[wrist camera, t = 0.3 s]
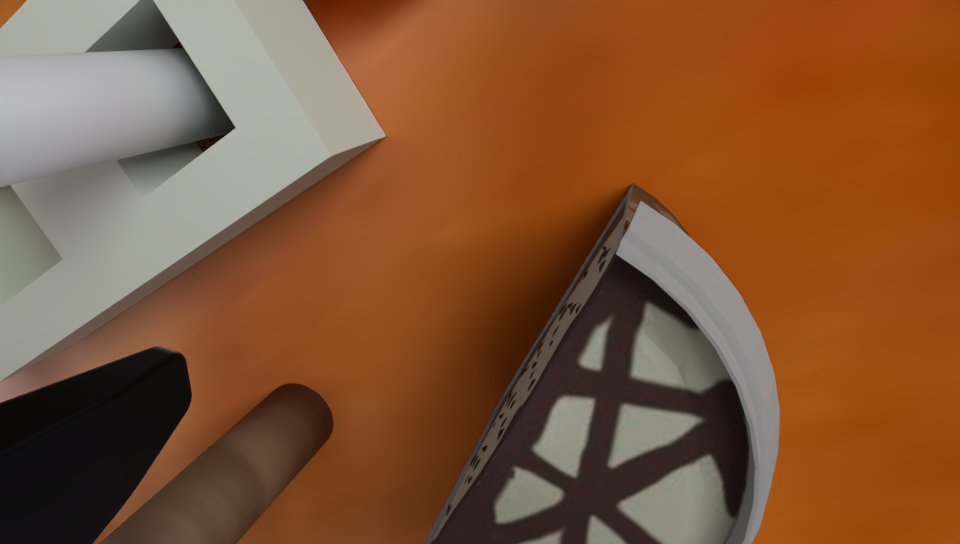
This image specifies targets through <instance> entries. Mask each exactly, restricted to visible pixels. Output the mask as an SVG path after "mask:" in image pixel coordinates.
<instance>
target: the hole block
mask: <svg viewBox="0 0 960 544" xmlns="http://www.w3.org/2000/svg"><path fill="white" fill-rule="evenodd" d="M179 42H181V44H182V45H183V47H184V48H185V50H186V52H187V53H188V55H189V56H190V58H191V59H192V61H193V62H194V64H195V65H196V67H197V69H198V70H199V72H200V73H201V75H202V76H203V78H204V79H205V81H206V82H207V84H208V86H209V87H210V89H211V90H212V92H213V93H214V95H215V96H216V98H217V99H218V101H219V102H220V104H221V106H222V107H223V109H224V110H225V112H226V113H227V115H228V116H229V118H230V119H231V121H232V123H233V124H234V126H235V127H236V128H235V129H234V130H232V131H231V132H230V133H228V134H227V135H226V136H224V137H223V138H222V139H221V140H219V141H218V142H217V143H215V144H214V145H213V146H211V147H210V148H209V149H207V150H206V151H205V152H203V151H202V150H201V148H200V147H199V145H198V144H197V142H196V141H195V142H191V143H186V144H182V145H178V146H174V147H169V148H165V149H161V150H157V151H152V152H148V153H144V154H140V155H135V156H131V157H127V158H123V159H118V160H114V161H110V162H106V163H101V164H97V165H93V166H88V167H84V168H80V169H76V170H71V171H67V172H63V173H59V174H54V175H50V176H46V177H42V178H37V179H33V180H29V181H25V182H20V183H16V184H12V185H8V186H3V187H0V382H1V381H3V380H5V379H7V378H9V377H11V376H13V375H15V374H17V373H18V372H20V371H22V370H24V369H26V368H28V367H30V366H32V365H34V364H36V363H38V362H40V361H42V360H44V359H46V358H48V357H49V356H51V355H53V354H55V353H57V352H59V351H61V350H63V349H65V348H67V347H69V346H71V345H73V344H75V343H77V342H79V341H80V340H82V339H83V338H85V337H86V336H88V335H89V334H91V333H92V332H94V331H95V330H97V329H98V328H100V327H101V326H103V325H104V324H106V323H107V322H109V321H110V320H112V319H113V318H115V317H116V316H118V315H119V314H121V313H122V312H123V311H125V310H126V309H128V308H129V307H131V306H132V305H134V304H135V303H137V302H138V301H140V300H141V299H143V298H144V297H146V296H147V295H149V294H150V293H152V292H153V291H155V290H156V289H158V288H159V287H161V286H162V285H164V284H165V283H167V282H168V281H170V280H171V279H173V278H174V277H176V276H177V275H179V274H180V273H182V272H183V271H185V270H186V269H188V268H189V267H191V266H192V265H194V264H195V263H197V262H198V261H200V260H201V259H203V258H204V257H206V256H207V255H209V254H210V253H212V252H213V251H215V250H216V249H218V248H219V247H221V246H222V245H224V244H225V243H227V242H228V241H230V240H231V239H233V238H234V237H236V236H237V235H239V234H240V233H242V232H243V231H245V230H246V229H248V228H249V227H251V226H252V225H254V224H255V223H257V222H258V221H260V220H261V219H263V218H264V217H266V216H267V215H269V214H270V213H272V212H273V211H275V210H276V209H278V208H279V207H281V206H282V205H284V204H285V203H287V202H288V201H290V200H291V199H293V198H294V197H296V196H297V195H299V194H300V193H302V192H303V191H305V190H306V189H308V188H309V187H311V186H312V185H314V184H315V183H316V182H318V181H319V180H321V179H322V178H324V177H325V176H327V175H328V174H330V173H331V172H333V171H334V170H336V169H337V168H339V167H340V166H342V165H343V164H345V163H346V162H348V161H349V160H351V159H352V158H354V157H355V156H357V155H358V154H360V153H361V152H363V151H364V150H366V149H367V148H369V147H370V146H372V145H373V144H375V143H376V142H378V141H379V140H381V139H382V138H384V137H385V136H386V135H385V134H384V132H383V130H382V129H381V127H380V125H379V124H378V122H377V121H376V119H375V117H374V116H373V114H372V112H371V111H370V109H369V108H368V106H367V104H366V103H365V101H364V99H363V98H362V96H361V94H360V93H359V91H358V90H357V88H356V86H355V85H354V83H353V81H352V80H351V78H350V77H349V75H348V73H347V72H346V70H345V68H344V67H343V65H342V64H341V62H340V60H339V59H338V57H337V55H336V54H335V52H334V51H333V49H332V47H331V46H330V44H329V42H328V41H327V39H326V37H325V36H324V34H323V33H322V31H321V29H320V28H319V26H318V24H317V23H316V21H315V20H314V18H313V16H312V15H311V13H310V11H309V10H308V8H307V7H306V5H305V3H304V2H303V0H27V1H26V2H25V3H24V4H23V5H22V6H21V7H20V9H19V10H18V11H17V12H16V13H15V14H14V15H13V16H12V17H11V18H10V19H9V20H8V21H7V22H6V23H5V24H4V25H3V26H2V27H1V28H0V56H22V55H43V54H65V53H87V52H108V51H130V50H151V49H172V48H173V47H174V46H175V45H176V44H177V43H179Z"/></svg>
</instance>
